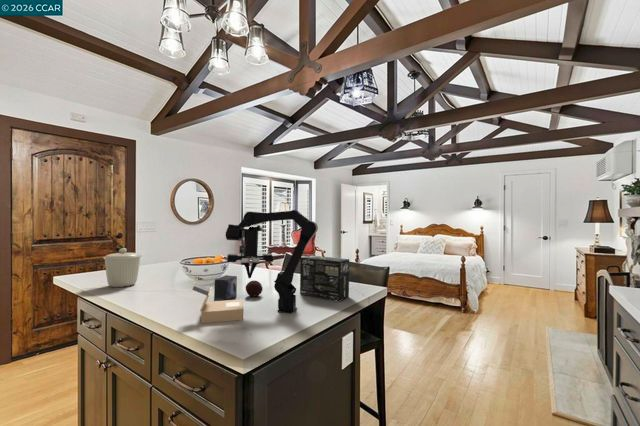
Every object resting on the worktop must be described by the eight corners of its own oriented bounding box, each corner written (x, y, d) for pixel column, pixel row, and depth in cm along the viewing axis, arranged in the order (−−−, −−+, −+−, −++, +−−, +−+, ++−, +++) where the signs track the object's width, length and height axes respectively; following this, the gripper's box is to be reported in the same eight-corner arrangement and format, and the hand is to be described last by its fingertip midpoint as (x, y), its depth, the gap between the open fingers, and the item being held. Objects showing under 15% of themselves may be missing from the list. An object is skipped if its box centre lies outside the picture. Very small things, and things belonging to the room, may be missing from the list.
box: (349, 297, 147) (349, 258, 147) (339, 302, 139) (340, 260, 139) (310, 290, 159) (310, 255, 160) (299, 294, 151) (299, 257, 151)
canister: (145, 285, 170) (146, 248, 170) (107, 291, 157) (107, 250, 157) (135, 280, 182) (136, 246, 183) (99, 285, 169) (100, 248, 170)
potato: (248, 299, 142) (248, 283, 142) (243, 295, 150) (243, 279, 150) (265, 297, 146) (265, 281, 146) (258, 293, 154) (258, 278, 154)
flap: (212, 287, 124) (197, 281, 122) (209, 295, 111) (192, 288, 110) (204, 302, 123) (189, 296, 121) (201, 311, 110) (183, 305, 109)
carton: (242, 308, 127) (242, 299, 127) (243, 319, 114) (243, 308, 114) (205, 311, 123) (205, 301, 123) (201, 323, 110) (201, 311, 110)
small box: (226, 303, 136) (226, 279, 136) (213, 302, 137) (213, 279, 137) (237, 297, 146) (237, 275, 146) (225, 296, 147) (225, 274, 148)
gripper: (270, 240, 138) (268, 274, 138) (227, 239, 132) (226, 274, 132) (274, 242, 127) (272, 279, 127) (228, 241, 122) (226, 280, 121)
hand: (249, 278), depth 127 cm, fingers closed
